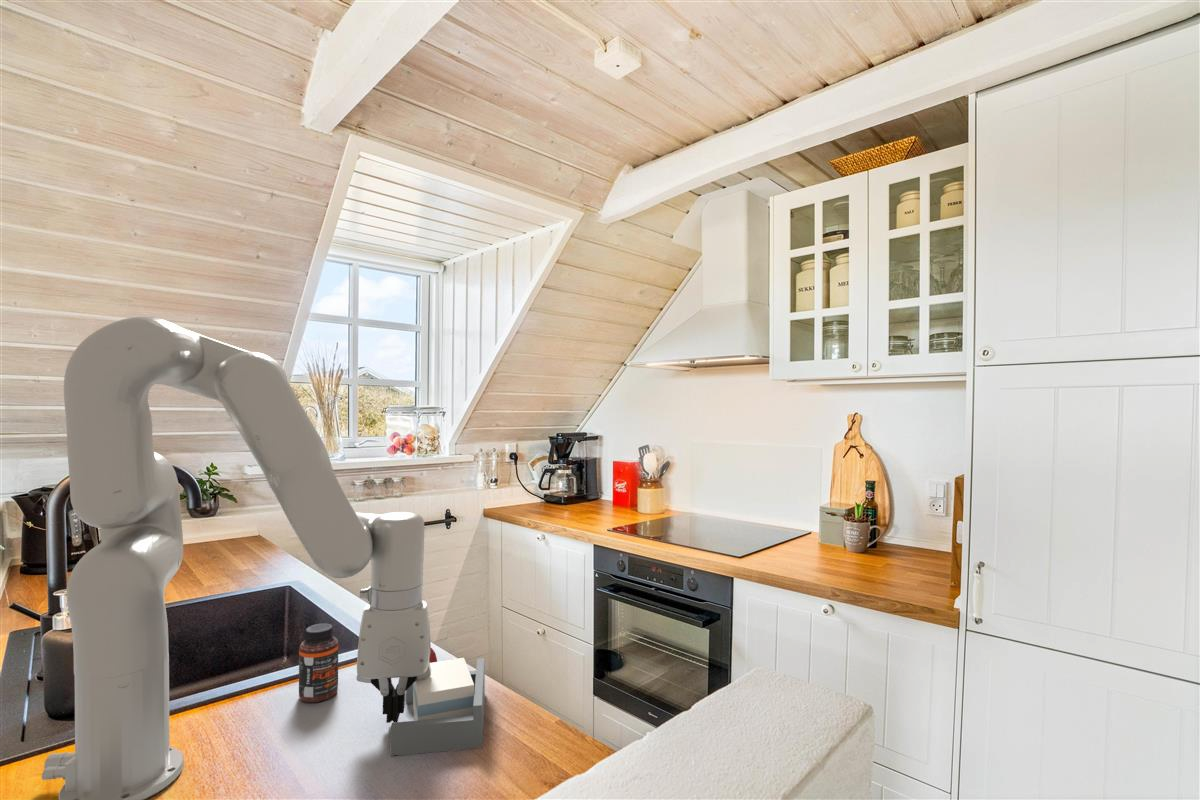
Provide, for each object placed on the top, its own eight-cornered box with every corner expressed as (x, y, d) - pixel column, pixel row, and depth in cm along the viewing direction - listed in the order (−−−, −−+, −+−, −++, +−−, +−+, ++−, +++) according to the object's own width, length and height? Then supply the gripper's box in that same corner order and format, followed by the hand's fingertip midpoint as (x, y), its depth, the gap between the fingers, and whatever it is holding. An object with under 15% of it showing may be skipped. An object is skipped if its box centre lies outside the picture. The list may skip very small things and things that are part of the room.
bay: (390, 756, 83) (390, 712, 83) (407, 700, 98) (407, 663, 98) (482, 747, 85) (481, 705, 85) (484, 694, 100) (484, 658, 100)
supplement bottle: (312, 708, 96) (312, 637, 96) (291, 698, 99) (290, 629, 99) (346, 692, 101) (345, 625, 101) (324, 683, 104) (324, 618, 104)
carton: (417, 743, 86) (417, 694, 86) (412, 709, 96) (412, 665, 96) (474, 731, 89) (474, 684, 89) (464, 700, 99) (464, 657, 99)
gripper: (338, 606, 86) (334, 735, 86) (445, 602, 88) (442, 727, 88) (350, 589, 93) (346, 708, 93) (449, 586, 96) (446, 702, 96)
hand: (393, 717), depth 91 cm, fingers closed
